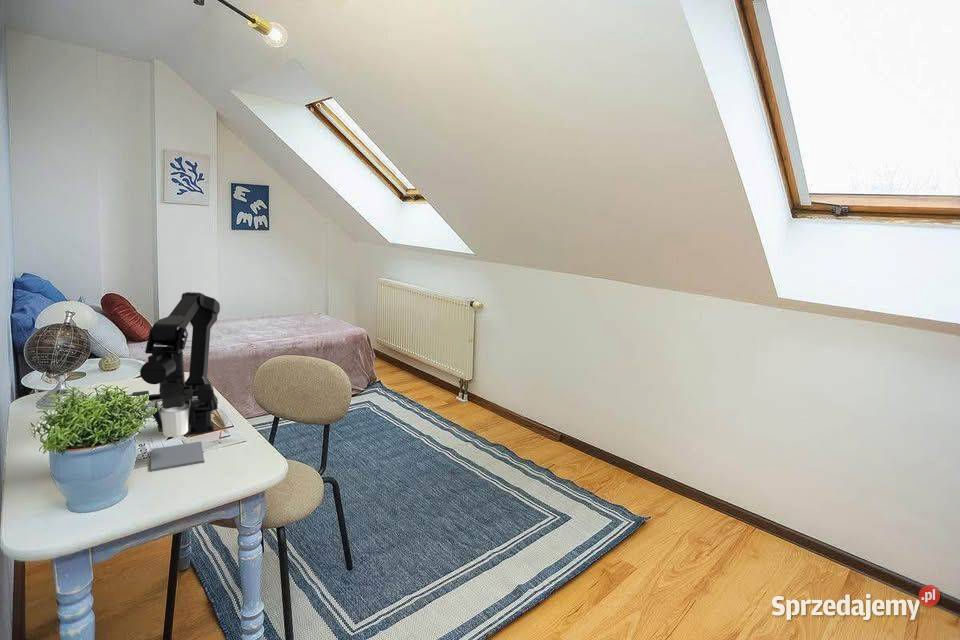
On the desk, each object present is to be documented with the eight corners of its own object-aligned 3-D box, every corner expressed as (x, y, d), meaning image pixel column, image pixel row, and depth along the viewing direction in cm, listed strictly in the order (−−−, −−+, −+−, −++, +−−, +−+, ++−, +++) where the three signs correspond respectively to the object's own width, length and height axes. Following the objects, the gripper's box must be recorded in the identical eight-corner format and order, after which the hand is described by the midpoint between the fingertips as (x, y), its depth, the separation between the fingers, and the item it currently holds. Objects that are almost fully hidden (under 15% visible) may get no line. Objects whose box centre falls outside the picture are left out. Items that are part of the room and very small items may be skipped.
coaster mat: (151, 451, 146) (151, 448, 146) (201, 443, 152) (201, 441, 152) (150, 471, 136) (150, 469, 136) (204, 462, 142) (204, 460, 142)
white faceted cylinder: (177, 439, 139) (175, 414, 137) (154, 435, 140) (152, 410, 139) (196, 428, 145) (195, 404, 144) (174, 425, 147) (172, 400, 145)
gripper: (126, 385, 128) (132, 446, 131) (214, 376, 137) (217, 433, 140) (128, 370, 137) (134, 427, 141) (210, 363, 146) (214, 417, 150)
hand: (175, 426), depth 143 cm, fingers closed on white faceted cylinder, 6 cm apart
